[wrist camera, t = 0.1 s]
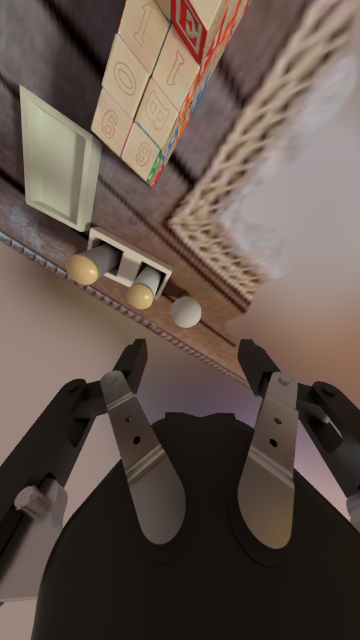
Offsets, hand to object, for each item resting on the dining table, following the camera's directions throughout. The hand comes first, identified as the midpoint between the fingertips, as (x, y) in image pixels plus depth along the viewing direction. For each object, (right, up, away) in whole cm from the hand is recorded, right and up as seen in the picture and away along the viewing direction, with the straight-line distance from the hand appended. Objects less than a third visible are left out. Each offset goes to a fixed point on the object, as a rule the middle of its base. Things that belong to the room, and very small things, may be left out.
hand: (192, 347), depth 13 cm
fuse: (-7, +12, +19) cm, 24 cm away
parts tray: (-18, +25, +11) cm, 32 cm away
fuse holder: (-11, +14, +18) cm, 25 cm away
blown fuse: (-14, +15, +17) cm, 27 cm away
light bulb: (0, +8, +22) cm, 23 cm away
